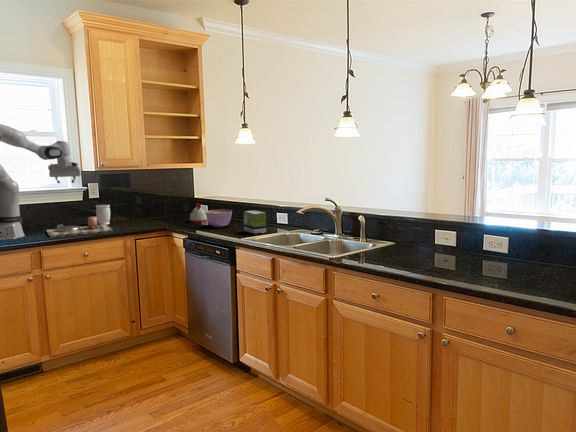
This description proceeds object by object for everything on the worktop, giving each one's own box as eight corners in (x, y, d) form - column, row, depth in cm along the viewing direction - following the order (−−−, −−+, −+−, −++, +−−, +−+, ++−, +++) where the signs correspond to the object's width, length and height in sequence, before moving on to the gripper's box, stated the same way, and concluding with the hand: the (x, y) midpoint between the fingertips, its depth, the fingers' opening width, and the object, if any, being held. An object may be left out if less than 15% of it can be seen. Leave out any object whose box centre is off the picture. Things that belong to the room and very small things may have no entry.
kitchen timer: (193, 223, 351) (192, 204, 348) (187, 220, 362) (186, 202, 360) (209, 221, 358) (209, 203, 356) (203, 219, 370) (202, 201, 367)
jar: (93, 224, 343) (92, 205, 341) (104, 222, 352) (103, 204, 350) (103, 225, 338) (102, 206, 336) (114, 223, 348) (112, 204, 345)
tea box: (243, 231, 313) (243, 211, 311) (255, 230, 319) (255, 209, 317) (254, 234, 301) (254, 213, 299) (266, 233, 307) (266, 212, 305)
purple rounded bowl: (227, 223, 347) (226, 209, 345) (236, 227, 330) (236, 212, 328) (202, 225, 338) (202, 210, 336) (210, 229, 320) (210, 214, 319)
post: (58, 233, 300) (57, 226, 299) (55, 229, 312) (55, 223, 311) (82, 230, 308) (81, 224, 307) (78, 227, 320) (78, 221, 320)
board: (50, 237, 292) (49, 234, 292) (46, 231, 312) (46, 229, 312) (113, 231, 314) (112, 228, 314) (106, 226, 334) (105, 224, 334)
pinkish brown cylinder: (98, 228, 314) (97, 217, 313) (89, 229, 311) (88, 218, 310) (96, 227, 322) (96, 216, 321) (87, 227, 319) (87, 217, 318)
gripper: (48, 164, 308) (50, 183, 310) (80, 163, 319) (81, 182, 321) (47, 164, 313) (49, 183, 315) (78, 163, 324) (80, 182, 326)
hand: (65, 183), depth 318 cm, fingers open, 8 cm apart
